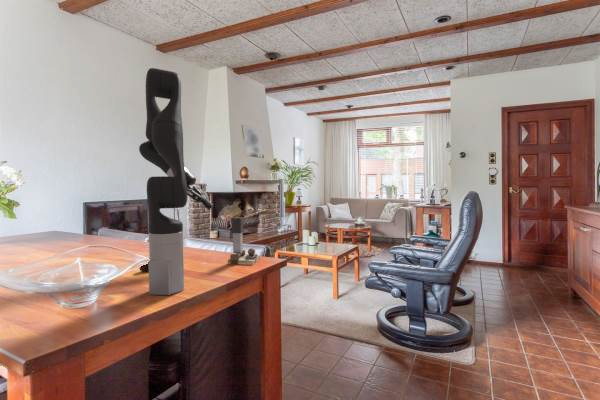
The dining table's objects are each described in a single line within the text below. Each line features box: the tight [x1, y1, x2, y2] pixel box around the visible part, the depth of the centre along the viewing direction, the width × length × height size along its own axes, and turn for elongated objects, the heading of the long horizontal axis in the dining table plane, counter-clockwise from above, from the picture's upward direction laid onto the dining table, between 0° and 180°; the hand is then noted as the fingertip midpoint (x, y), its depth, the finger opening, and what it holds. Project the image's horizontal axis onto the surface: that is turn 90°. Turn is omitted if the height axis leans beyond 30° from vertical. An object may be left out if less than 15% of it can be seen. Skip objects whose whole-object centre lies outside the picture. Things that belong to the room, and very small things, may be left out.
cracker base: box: [227, 248, 260, 266], centre depth 137 cm, size 10×10×5 cm
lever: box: [231, 216, 244, 256], centre depth 137 cm, size 6×4×16 cm, turn 173°
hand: (211, 207), depth 137 cm, fingers closed
